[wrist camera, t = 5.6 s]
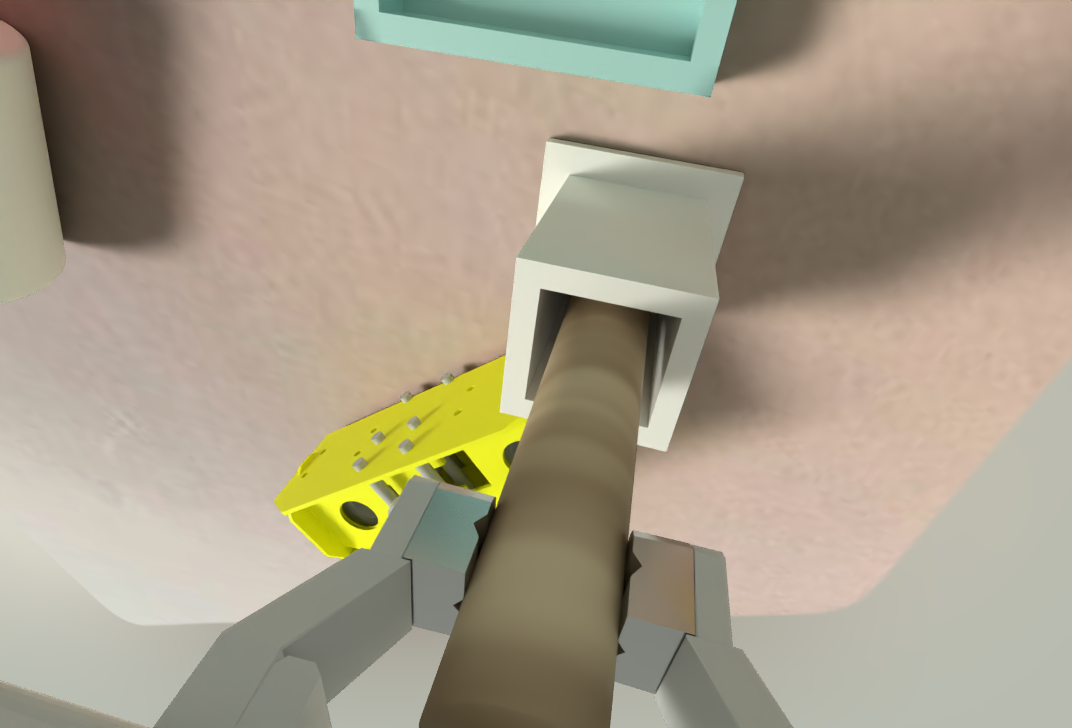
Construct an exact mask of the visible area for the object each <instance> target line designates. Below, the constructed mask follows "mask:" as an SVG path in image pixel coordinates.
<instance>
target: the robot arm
mask: <svg viewBox="0 0 1072 728" xmlns="http://www.w3.org/2000/svg"><path fill="white" fill-rule="evenodd" d="M495 509H496V497H494V496H491V495H487V494H483V493H480V492H476V491H473V490H469V489H465V488H462V487H458V486H455V485H451V484H447V483H444V482H439V481H436V480H432V479H428V478H424V477H421V476H417V475H414V476H413V477H412V478H411V479H410V480H409V481H408V482H407V484H406V485H405V487H404V489H403V491H402V493H401V494H400V496H399V498H398V500H397V502H396V503H395V505H394V507H393V509H392V510H391V512H390V514H389V516H388V518H387V519H386V521H385V523H384V525H383V527H382V528H381V530H380V532H379V534H378V535H377V537H376V539H375V541H374V543H373V544H372V546H371V548H370V549H366V548H360V549H358V550H357V551H355V552H353V553H352V554H350V555H348V556H347V557H345V558H343V559H342V560H340V561H338V562H337V563H335V564H333V565H332V566H330V567H328V568H327V569H325V570H324V571H322V572H320V573H319V574H317V575H315V576H314V577H312V578H310V579H309V580H307V581H305V582H304V583H302V584H300V585H299V586H297V587H296V588H294V589H292V590H291V591H289V592H287V593H286V594H284V595H282V596H281V597H279V598H277V599H276V600H274V601H272V602H271V603H269V604H267V605H266V606H264V607H263V608H261V609H259V610H258V611H256V612H254V613H253V614H251V615H249V616H248V617H246V618H244V619H243V620H241V621H239V622H238V623H236V624H235V625H233V626H231V627H230V628H228V629H226V630H225V631H223V632H222V633H221V634H220V636H219V637H218V638H217V640H216V641H215V643H214V644H213V645H212V647H211V648H210V649H209V651H208V652H207V654H206V655H205V657H204V658H203V659H202V661H201V662H200V664H199V665H198V666H197V667H196V669H195V670H194V672H193V673H192V675H191V676H190V677H189V679H188V680H187V681H186V683H185V684H184V685H183V687H182V688H181V690H180V691H179V692H178V694H177V695H176V697H175V698H174V699H173V701H172V702H171V704H170V705H169V706H168V708H167V709H166V710H165V712H164V713H163V715H162V716H161V717H160V719H159V720H158V722H157V723H156V724H155V726H154V727H153V728H332V726H331V722H330V717H329V712H328V707H327V703H328V702H330V701H331V700H332V699H333V698H334V697H335V696H336V695H337V694H339V693H340V692H341V691H342V690H343V689H344V688H345V687H346V686H348V685H349V684H350V683H351V682H352V681H353V680H354V679H356V678H357V677H358V676H359V675H360V674H361V673H362V672H364V671H365V670H366V669H367V668H368V667H369V666H371V665H372V664H373V663H374V662H375V661H376V660H377V659H379V658H380V657H381V656H382V655H383V654H384V653H385V652H386V651H388V650H389V649H390V648H391V647H392V646H393V645H394V644H396V643H397V642H398V641H399V640H400V639H401V638H402V637H404V636H405V635H406V634H407V633H408V632H409V631H410V630H411V629H412V626H415V627H420V628H423V629H427V630H431V631H436V632H439V633H443V634H447V635H451V632H452V629H453V626H454V623H455V621H456V618H457V615H458V612H459V609H460V607H461V604H462V601H463V599H464V597H465V594H466V591H467V588H468V585H469V583H470V580H471V577H472V574H473V571H474V569H475V566H476V563H477V559H478V556H479V554H480V551H481V548H482V545H483V542H484V540H485V538H486V535H487V532H488V529H489V527H490V524H491V521H492V518H493V515H494V512H495ZM614 681H615V682H618V683H621V684H624V685H628V686H631V687H634V688H637V689H641V690H644V691H647V692H650V693H654V694H656V695H655V699H656V701H657V704H658V706H659V709H660V711H661V713H662V716H663V718H664V721H665V723H666V725H667V727H668V728H793V727H792V725H791V724H790V722H789V720H788V719H787V717H786V716H785V714H784V713H783V711H782V710H781V708H780V707H779V705H778V703H777V702H776V700H775V699H774V697H773V696H772V694H771V693H770V691H769V690H768V688H767V687H766V685H765V684H764V682H763V681H762V679H761V677H760V676H759V674H758V673H757V671H756V670H755V668H754V667H753V665H752V664H751V662H750V661H749V659H748V658H747V656H746V654H745V653H744V651H743V650H742V649H739V648H736V647H733V643H732V632H731V619H730V607H729V596H728V584H727V572H726V560H725V557H724V555H723V553H722V552H719V551H715V550H711V549H707V548H703V547H699V546H695V545H690V544H689V543H685V542H681V541H677V540H673V539H668V538H664V537H660V536H656V535H651V534H647V533H643V532H639V531H634V530H633V531H632V533H631V534H630V537H629V540H628V543H627V551H626V561H625V571H624V586H623V597H622V602H621V613H620V623H619V634H618V649H617V659H616V669H615V680H614ZM0 728H148V727H145V726H141V725H139V724H135V723H132V722H129V721H126V720H123V719H120V718H117V717H114V716H110V715H107V714H104V713H101V712H98V711H95V710H92V709H89V708H85V707H82V706H79V705H76V704H73V703H70V702H67V701H63V700H60V699H57V698H54V697H51V696H48V695H45V694H41V693H38V692H35V691H32V690H29V689H26V688H22V687H20V686H17V685H13V684H10V683H7V682H4V681H1V680H0Z"/></svg>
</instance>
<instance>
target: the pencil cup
mask: <svg viewBox="0 0 1072 728" xmlns="http://www.w3.org/2000/svg"><path fill="white" fill-rule="evenodd" d="M743 180H744V174H743V173H742V172H737V171H731V170H726V169H720V168H715V167H709V166H704V165H698V164H692V163H687V162H681V161H676V160H670V159H665V158H659V157H653V156H648V155H642V154H637V153H631V152H626V151H620V150H614V149H609V148H603V147H598V146H592V145H587V144H581V143H575V142H570V141H564V140H559V139H553V138H549V139H548V140H547V141H546V149H545V157H544V165H543V173H542V181H541V189H540V197H539V205H538V213H537V221H536V228H535V229H534V231H533V232H532V234H531V235H530V237H529V239H528V240H527V242H526V243H525V245H524V246H523V248H522V250H521V251H520V253H519V254H518V256H517V257H516V266H515V275H514V285H513V294H512V303H511V312H510V321H509V330H508V340H507V349H506V358H505V367H504V376H503V386H502V395H501V404H500V412H501V413H505V414H509V415H514V416H518V417H522V418H526V419H528V417H529V414H530V411H531V408H532V405H533V403H534V400H535V397H536V394H537V391H538V389H539V386H540V383H541V380H542V377H543V375H544V372H545V369H546V366H547V363H548V361H549V358H550V355H551V352H552V349H553V347H554V344H555V341H556V338H557V335H558V333H559V330H560V327H561V324H562V321H563V319H564V316H565V313H566V310H567V307H568V305H569V302H570V299H571V296H572V295H574V296H579V297H584V298H588V299H593V300H598V301H603V302H607V303H612V304H617V305H622V306H626V307H631V308H636V309H641V310H645V311H650V316H649V327H648V337H647V347H646V358H645V368H644V379H643V389H642V399H641V410H640V420H639V430H638V441H637V445H640V446H644V447H648V448H652V449H657V450H661V451H665V452H666V451H667V448H668V445H669V442H670V440H671V437H672V434H673V431H674V428H675V425H676V422H677V419H678V417H679V414H680V411H681V408H682V405H683V402H684V399H685V397H686V394H687V391H688V388H689V385H690V382H691V379H692V376H693V374H694V371H695V368H696V365H697V362H698V359H699V356H700V353H701V351H702V348H703V345H704V342H705V339H706V336H707V333H708V330H709V328H710V325H711V322H712V319H713V316H714V313H715V310H716V307H717V305H718V302H719V292H718V284H717V276H716V268H715V265H716V262H717V259H718V256H719V253H720V250H721V247H722V244H723V241H724V238H725V235H726V232H727V228H728V225H729V222H730V219H731V216H732V213H733V210H734V207H735V204H736V201H737V198H738V195H739V192H740V189H741V186H742V183H743Z"/></svg>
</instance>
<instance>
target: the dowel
mask: <svg viewBox="0 0 1072 728" xmlns="http://www.w3.org/2000/svg"><path fill="white" fill-rule="evenodd" d="M649 316H650V311H645V310H641V309H636V308H631V307H626V306H622V305H617V304H612V303H607V302H603V301H598V300H593V299H588V298H584V297H579V296H574V295H572V296H571V299H570V302H569V305H568V307H567V310H566V313H565V316H564V319H563V321H562V324H561V327H560V330H559V333H558V335H557V338H556V341H555V344H554V347H553V349H552V352H551V355H550V358H549V361H548V363H547V366H546V369H545V372H544V375H543V377H542V380H541V383H540V386H539V389H538V391H537V394H536V397H535V400H534V403H533V405H532V408H531V411H530V414H529V417H528V419H527V422H526V425H525V428H524V431H523V433H522V436H521V439H520V442H519V444H518V447H517V450H516V453H515V456H514V458H513V461H512V464H511V467H510V470H509V472H508V475H507V478H506V481H505V484H504V486H503V489H502V492H501V495H500V498H499V500H498V503H497V506H496V509H495V512H494V515H493V518H492V521H491V524H490V527H489V529H488V532H487V535H486V538H485V540H484V542H483V545H482V548H481V551H480V554H479V556H478V559H477V563H476V566H475V569H474V571H473V574H472V577H471V580H470V583H469V585H468V588H467V591H466V594H465V597H464V599H463V601H462V604H461V607H460V609H459V612H458V615H457V618H456V621H455V623H454V626H453V629H452V632H451V635H450V638H449V640H448V643H447V646H446V649H445V651H444V654H443V657H442V660H441V663H440V666H439V668H438V671H437V674H436V677H435V680H434V682H433V685H432V688H431V691H430V693H429V696H428V699H427V702H426V705H425V707H424V710H423V713H422V716H421V719H420V722H419V728H610V720H611V711H612V701H613V690H614V680H615V669H616V659H617V649H618V634H619V623H620V613H621V602H622V597H623V586H624V571H625V561H626V551H627V543H628V534H629V524H630V514H631V503H632V493H633V482H634V472H635V462H636V451H637V441H638V430H639V420H640V410H641V399H642V389H643V379H644V368H645V358H646V347H647V337H648V327H649Z"/></svg>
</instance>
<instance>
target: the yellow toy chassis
mask: <svg viewBox="0 0 1072 728" xmlns="http://www.w3.org/2000/svg"><path fill="white" fill-rule="evenodd" d="M505 358H506V355H505V356H503V357H500V358H498V359H496V360H494V361H491V362H489V363H487V364H485V365H482V366H480V367H478V368H476V369H473V370H471V371H469V372H467V373H465V374H462V375H460V376H458V377H456V378H454V377H453V375H452V374H451V373H447V374H445V375H444V376H443V377H442V378H441V380H442V382H443V383H442V384H440V385H438V386H435V387H433V388H431V389H429V390H426V391H424V392H422V393H420V394H418V395H415V396H412V395H411V393H410V392H409V391H408V392H405V393H404V394H403V395H402V396H401V397H400V399H401V400H402V402H400V403H397V404H395V405H393V406H391V407H388V408H386V409H384V410H382V411H380V412H377V413H375V414H373V415H371V416H368V417H366V418H364V419H362V420H359V421H357V422H355V423H353V424H350V425H348V426H346V427H344V428H341V429H339V430H337V431H335V432H333V433H330V434H328V435H327V436H326V437H325V438H324V439H323V441H322V442H321V443H320V444H319V445H318V447H317V448H316V449H315V450H314V452H313V453H312V454H310V455H308V456H307V458H306V459H305V460H304V461H303V463H302V464H301V465H300V466H299V468H298V471H297V473H296V474H295V475H294V476H293V477H292V479H291V480H290V481H289V482H288V484H287V485H286V486H285V487H284V488H283V490H282V491H281V492H280V493H279V495H278V496H277V497H276V498H275V500H274V502H275V504H276V505H277V507H278V508H279V510H280V511H281V513H282V514H284V515H288V516H289V520H290V522H291V523H292V524H293V525H294V526H295V527H296V528H298V529H299V530H300V531H301V532H302V533H303V534H304V535H305V536H306V537H307V538H308V539H309V540H310V541H311V542H312V543H313V544H314V545H315V546H316V547H317V548H318V549H319V550H320V551H321V552H322V553H323V554H324V555H325V556H328V557H335V558H341V559H340V560H342V559H343V558H345V557H347V556H348V555H350V554H352V553H353V552H355V551H357V550H358V549H360V548H366V549H370V548H371V546H372V544H373V543H374V541H375V539H376V537H377V535H378V534H379V532H380V530H381V528H382V527H383V525H384V523H385V521H386V519H387V518H388V516H389V514H390V512H391V510H392V509H393V507H394V505H395V503H396V502H397V500H398V498H399V496H400V494H401V493H402V491H403V489H404V487H405V485H406V484H407V482H408V481H409V480H410V479H411V478H412V477H413V476H414V475H417V476H421V477H424V478H428V479H432V480H436V481H439V482H444V483H447V484H451V485H455V486H458V487H462V488H465V489H469V490H473V491H476V492H480V493H483V494H487V495H491V496H494V497H496V506H497V503H498V500H499V498H500V495H501V492H502V489H503V486H504V484H505V481H506V478H507V475H508V472H509V470H510V467H511V464H512V461H513V458H514V456H515V453H516V450H517V447H518V444H519V442H520V439H521V436H522V433H523V431H524V428H525V425H526V422H527V419H526V418H522V417H518V416H514V415H509V414H505V413H501V412H500V404H501V395H502V386H503V376H504V367H505Z"/></svg>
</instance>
